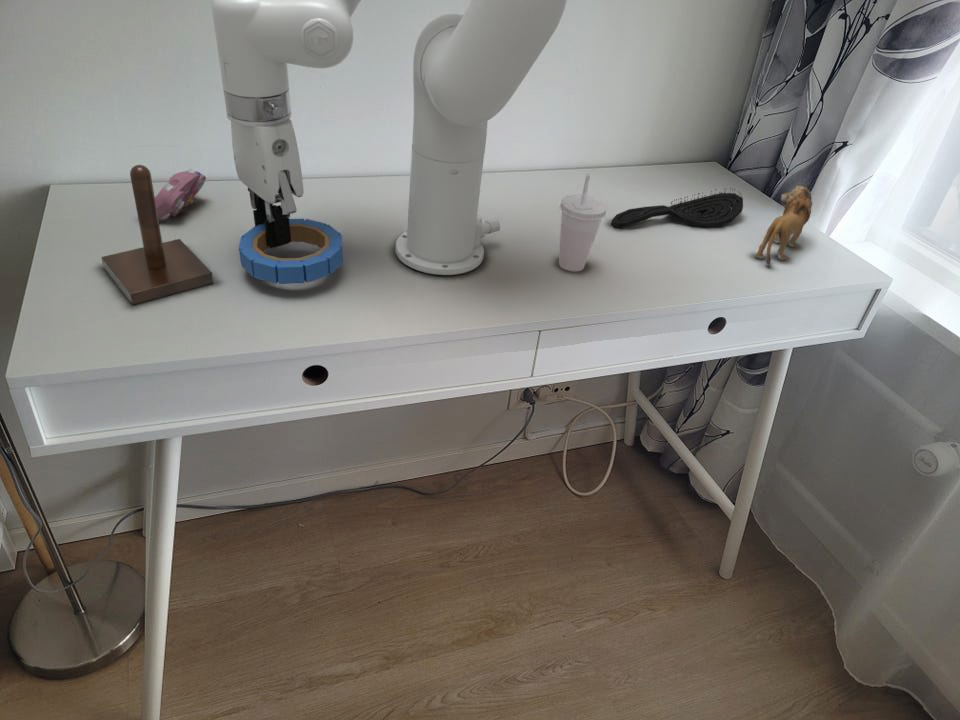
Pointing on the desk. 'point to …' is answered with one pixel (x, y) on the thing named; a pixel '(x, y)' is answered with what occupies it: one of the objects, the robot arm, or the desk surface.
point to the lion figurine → (788, 222)
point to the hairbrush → (689, 211)
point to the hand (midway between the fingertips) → (273, 239)
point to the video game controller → (178, 192)
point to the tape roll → (293, 267)
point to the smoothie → (579, 227)
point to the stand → (154, 254)
